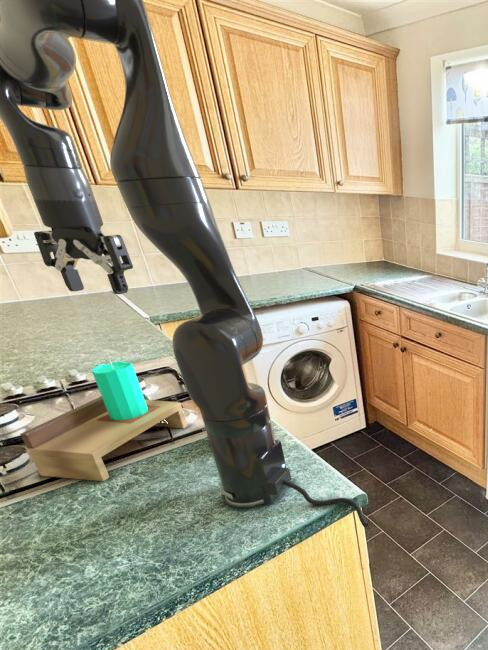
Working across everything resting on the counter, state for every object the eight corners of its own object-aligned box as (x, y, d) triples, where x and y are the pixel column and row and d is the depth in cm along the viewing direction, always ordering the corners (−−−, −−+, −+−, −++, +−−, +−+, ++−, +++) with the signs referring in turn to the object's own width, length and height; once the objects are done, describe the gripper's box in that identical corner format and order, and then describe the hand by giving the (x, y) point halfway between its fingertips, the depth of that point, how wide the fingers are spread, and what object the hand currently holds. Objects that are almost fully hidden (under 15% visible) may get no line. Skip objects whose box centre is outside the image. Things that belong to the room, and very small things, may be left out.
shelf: (187, 425, 94) (176, 390, 91) (103, 481, 76) (85, 439, 72) (136, 421, 95) (123, 385, 91) (41, 475, 77) (19, 433, 73)
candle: (151, 413, 87) (133, 359, 82) (113, 423, 83) (91, 367, 78) (144, 403, 90) (125, 351, 85) (107, 413, 86) (85, 358, 81)
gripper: (124, 199, 74) (152, 290, 81) (47, 194, 75) (82, 285, 81) (83, 200, 67) (117, 299, 74) (-2, 194, 68) (40, 294, 75)
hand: (99, 292), depth 78 cm, fingers open, 8 cm apart
